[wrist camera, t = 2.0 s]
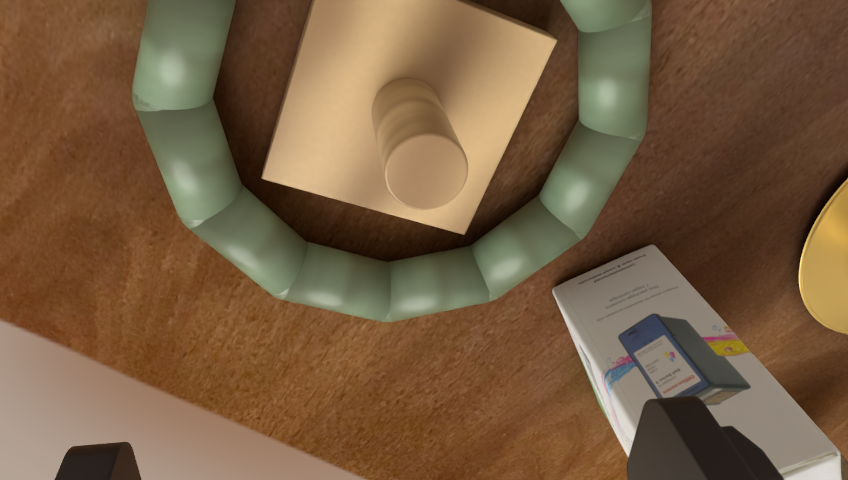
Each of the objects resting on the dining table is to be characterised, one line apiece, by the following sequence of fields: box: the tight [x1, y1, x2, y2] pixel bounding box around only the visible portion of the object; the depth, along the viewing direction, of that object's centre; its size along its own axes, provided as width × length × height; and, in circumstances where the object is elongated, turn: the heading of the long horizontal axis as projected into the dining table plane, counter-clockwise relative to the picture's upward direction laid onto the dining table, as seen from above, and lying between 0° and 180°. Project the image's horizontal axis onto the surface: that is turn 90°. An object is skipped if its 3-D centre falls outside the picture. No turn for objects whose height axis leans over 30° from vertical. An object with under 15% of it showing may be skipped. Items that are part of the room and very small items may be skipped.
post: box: [262, 0, 557, 235], centre depth 21 cm, size 8×8×6 cm
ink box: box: [552, 245, 842, 480], centre depth 26 cm, size 9×5×12 cm, turn 23°
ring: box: [132, 0, 652, 322], centre depth 22 cm, size 17×17×2 cm
